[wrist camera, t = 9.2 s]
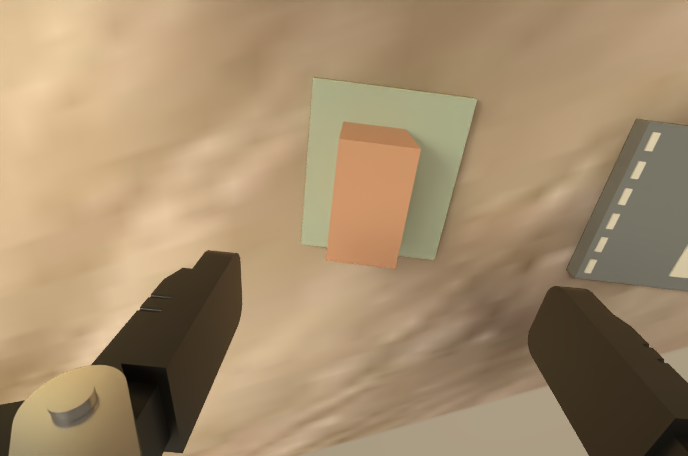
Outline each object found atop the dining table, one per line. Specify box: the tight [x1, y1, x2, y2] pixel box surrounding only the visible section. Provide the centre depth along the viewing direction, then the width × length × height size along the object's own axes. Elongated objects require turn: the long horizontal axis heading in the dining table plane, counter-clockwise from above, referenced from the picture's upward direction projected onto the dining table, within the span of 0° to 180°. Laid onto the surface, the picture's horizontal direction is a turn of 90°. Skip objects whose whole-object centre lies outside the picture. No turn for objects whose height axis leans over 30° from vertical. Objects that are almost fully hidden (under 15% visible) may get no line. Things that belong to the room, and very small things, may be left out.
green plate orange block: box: [301, 77, 477, 269], centre depth 19 cm, size 10×9×6 cm
